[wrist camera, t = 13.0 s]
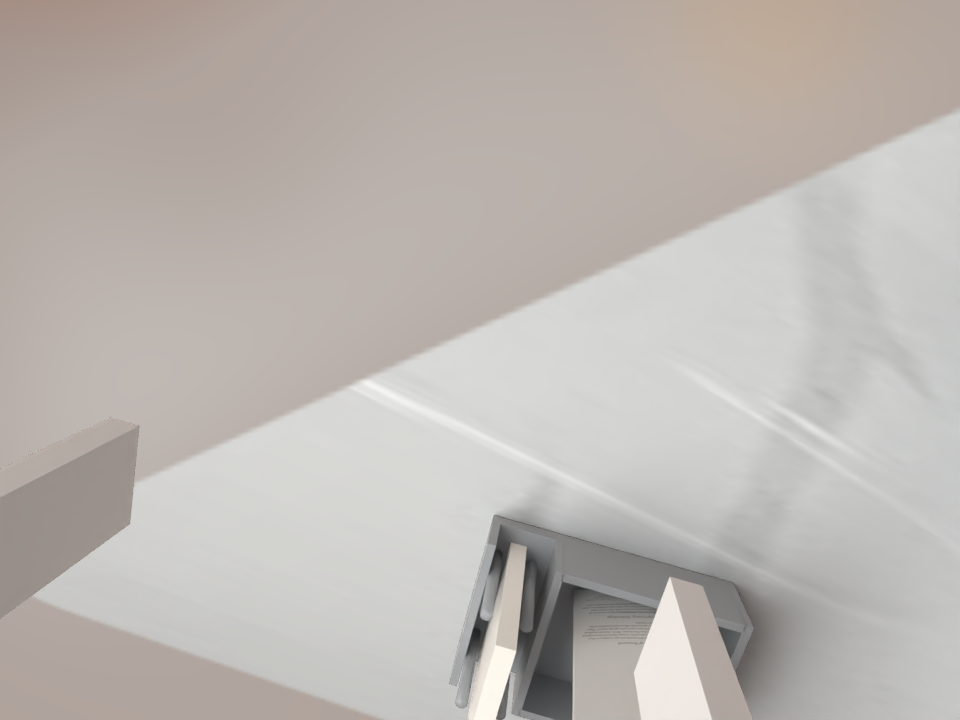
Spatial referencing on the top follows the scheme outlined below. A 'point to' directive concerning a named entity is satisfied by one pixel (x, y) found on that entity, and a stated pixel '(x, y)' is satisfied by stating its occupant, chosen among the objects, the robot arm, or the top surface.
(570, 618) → the grey open box
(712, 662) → the robot arm
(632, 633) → the skincare box
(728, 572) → the top surface
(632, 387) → the top surface
